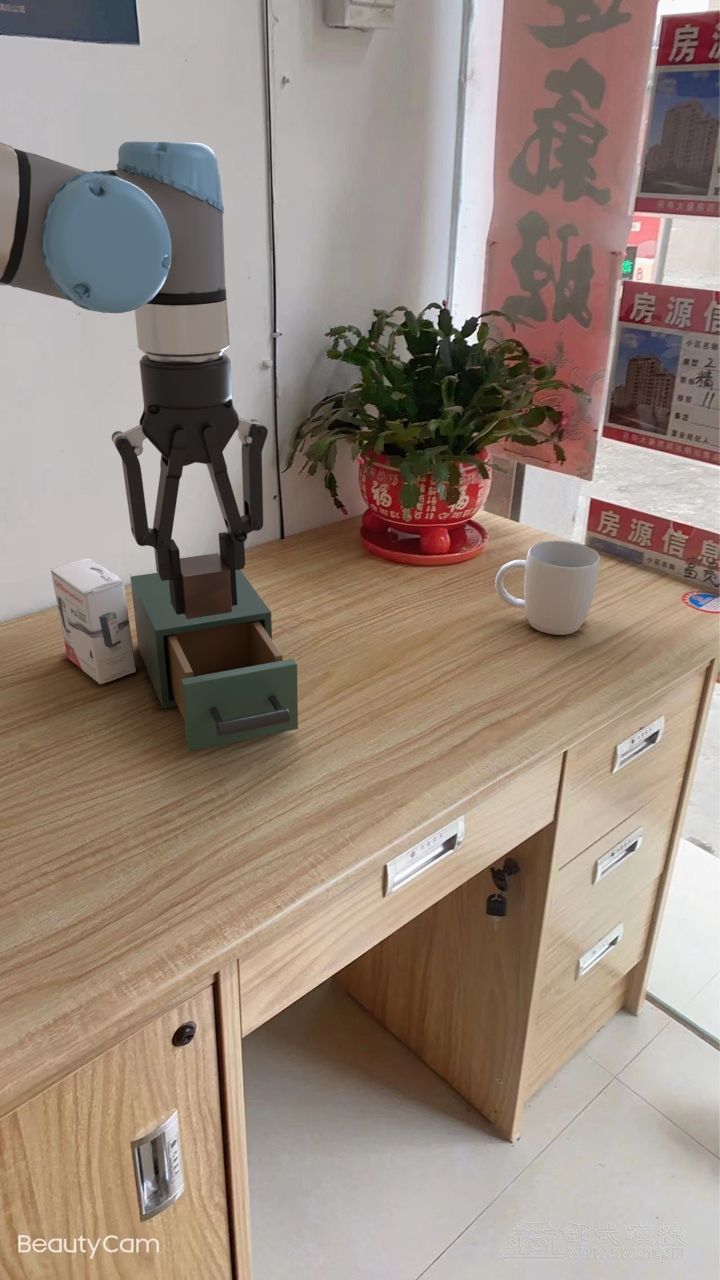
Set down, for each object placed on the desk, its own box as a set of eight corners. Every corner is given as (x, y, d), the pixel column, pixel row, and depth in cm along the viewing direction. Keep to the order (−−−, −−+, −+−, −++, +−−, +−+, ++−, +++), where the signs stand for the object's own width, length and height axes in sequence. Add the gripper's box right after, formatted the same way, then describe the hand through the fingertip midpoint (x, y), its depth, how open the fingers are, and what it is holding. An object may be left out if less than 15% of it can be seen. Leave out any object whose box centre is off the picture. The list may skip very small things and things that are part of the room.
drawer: (312, 751, 88) (311, 684, 84) (199, 776, 84) (193, 707, 80) (259, 667, 102) (257, 607, 98) (161, 686, 98) (155, 623, 94)
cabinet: (273, 687, 100) (271, 611, 96) (162, 708, 96) (154, 630, 91) (238, 631, 112) (234, 561, 107) (138, 648, 108) (130, 576, 103)
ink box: (63, 658, 105) (48, 566, 99) (101, 645, 108) (89, 555, 102) (98, 687, 99) (85, 592, 94) (138, 672, 102) (127, 579, 97)
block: (186, 619, 82) (182, 576, 80) (176, 600, 86) (172, 558, 84) (232, 612, 84) (229, 569, 82) (221, 593, 87) (218, 552, 85)
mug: (592, 615, 118) (603, 545, 113) (585, 645, 111) (597, 572, 106) (498, 600, 121) (505, 532, 117) (485, 629, 114) (492, 557, 109)
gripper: (271, 340, 80) (278, 575, 91) (71, 351, 74) (105, 602, 85) (298, 355, 74) (302, 605, 85) (82, 369, 68) (118, 636, 79)
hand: (204, 603), depth 85 cm, fingers closed on block, 4 cm apart
